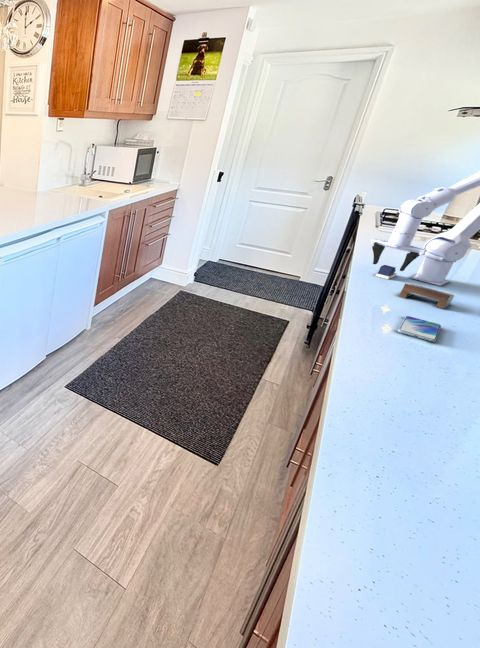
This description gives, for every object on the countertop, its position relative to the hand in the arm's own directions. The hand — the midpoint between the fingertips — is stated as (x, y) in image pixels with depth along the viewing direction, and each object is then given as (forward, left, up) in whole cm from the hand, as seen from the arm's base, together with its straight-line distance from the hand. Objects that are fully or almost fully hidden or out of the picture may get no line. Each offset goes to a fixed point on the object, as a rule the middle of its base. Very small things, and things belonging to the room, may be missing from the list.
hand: (387, 267), depth 152 cm
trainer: (-2, 0, -4) cm, 4 cm away
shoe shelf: (+17, +15, -4) cm, 23 cm away
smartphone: (+49, +22, -4) cm, 53 cm away
